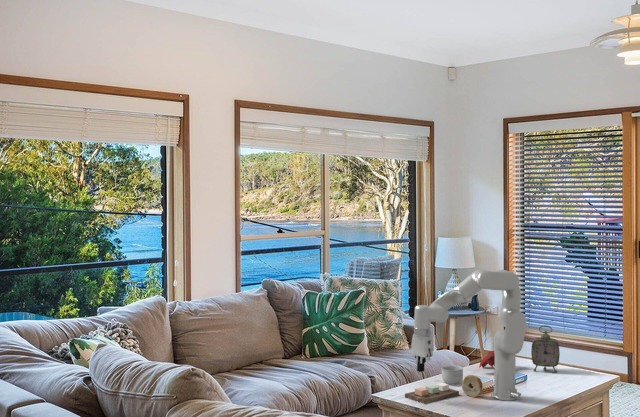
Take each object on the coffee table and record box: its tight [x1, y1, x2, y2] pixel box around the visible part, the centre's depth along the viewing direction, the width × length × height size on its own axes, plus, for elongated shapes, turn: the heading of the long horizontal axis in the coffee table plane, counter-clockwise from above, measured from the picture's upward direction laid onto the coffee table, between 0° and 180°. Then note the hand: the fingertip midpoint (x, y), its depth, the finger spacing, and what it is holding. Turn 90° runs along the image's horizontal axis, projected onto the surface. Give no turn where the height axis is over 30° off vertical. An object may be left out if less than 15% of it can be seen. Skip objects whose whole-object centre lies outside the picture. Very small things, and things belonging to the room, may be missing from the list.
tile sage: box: [425, 384, 439, 394], centre depth 331 cm, size 4×4×2 cm
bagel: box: [461, 374, 484, 398], centre depth 332 cm, size 10×4×10 cm, turn 43°
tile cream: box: [435, 382, 450, 391], centre depth 335 cm, size 4×4×2 cm
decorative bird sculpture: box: [478, 350, 495, 371], centre depth 384 cm, size 28×9×15 cm
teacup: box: [440, 364, 464, 385], centre depth 356 cm, size 14×11×8 cm
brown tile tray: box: [404, 387, 460, 404], centre depth 331 cm, size 12×24×2 cm, turn 127°
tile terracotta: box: [414, 386, 428, 396], centre depth 327 cm, size 4×4×2 cm
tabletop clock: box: [530, 324, 560, 374], centre depth 381 cm, size 14×9×25 cm, turn 73°
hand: (420, 371), depth 326 cm, fingers closed
